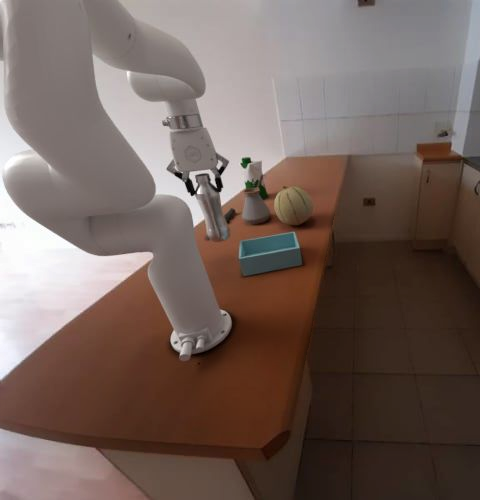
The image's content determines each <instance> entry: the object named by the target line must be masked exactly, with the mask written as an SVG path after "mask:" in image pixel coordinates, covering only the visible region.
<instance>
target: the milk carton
mask: <svg viewBox="0 0 480 500" xmlns="http://www.w3.org/2000/svg"><path fill="white" fill-rule="evenodd" d="M238 166H239V168H240V171H241V174H242V177H243V181H244V185H245V190H246V189H249V188H257V185H258V182H259V180H260V177H261V175H262V174H263V160H260V159H251V157H249V156H247V157H242V158H241V161H240V162H238ZM263 175H264V174H263ZM262 178H263V179H262V182H261V185H260V187H259V189H260V192H259V195H260V197H261V198H262V200H264V199H266V198H268V192H267V188H266V184H265V177H264V176H263V177H262Z"/></svg>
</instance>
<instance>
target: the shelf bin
mask: <svg viewBox="0 0 480 500" xmlns="http://www.w3.org/2000/svg"><path fill="white" fill-rule="evenodd" d="M301 253H302V252H301V247H300V244H299V241H298V237H297V234H296V231H290V232H284V233H279V234H272V235H266V236H262V237H255V238H249V239H242V240H240V241H239V252H238V262H239V265H240V269H241V272H242V275H243V277H246V276H252V275H258V274H262V273H268V272H273V271H278V270H284V269H289V268H293V267H298V266H302V265H303V259H302V254H301Z"/></svg>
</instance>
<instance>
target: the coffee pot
mask: <svg viewBox="0 0 480 500" xmlns="http://www.w3.org/2000/svg"><path fill="white" fill-rule="evenodd" d="M262 177H263V178H264V179H265V178H267V176H266V175H265V174H262V175H261V177H260V180H259V182H258V185H257V188H249V189H246V188H245V189H244V190H243V191H242V193H243V194H244V195H245V197H244V203H243V209H242V213H241V217H242V220H244V221H245V222H246V223H248V224H250V225H259V224H263V223H265V222H267V221H268V219H269V218H270V216H271V214H272V213H271V212H272V211H271V210H270V208H269V207H268V205H267V203H266V202H265V201H264V199H262V198H261V197H260V195H259V192H260V189H259V187H260V185H261V182H262V179H263V178H262Z"/></svg>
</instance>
